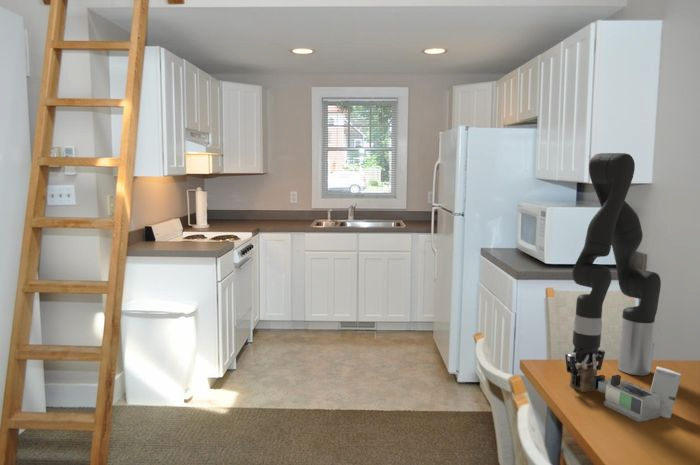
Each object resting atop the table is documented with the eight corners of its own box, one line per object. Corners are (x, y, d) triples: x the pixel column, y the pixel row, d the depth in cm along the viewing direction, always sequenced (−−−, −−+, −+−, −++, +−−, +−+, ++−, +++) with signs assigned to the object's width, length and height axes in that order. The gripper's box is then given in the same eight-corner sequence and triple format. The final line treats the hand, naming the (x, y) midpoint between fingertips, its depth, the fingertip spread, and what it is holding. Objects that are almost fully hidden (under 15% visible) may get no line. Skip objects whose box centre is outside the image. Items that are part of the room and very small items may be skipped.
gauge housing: (623, 400, 154) (625, 380, 153) (659, 416, 144) (662, 395, 143) (603, 404, 150) (605, 384, 150) (639, 422, 141) (641, 400, 140)
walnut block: (582, 383, 165) (583, 364, 165) (595, 389, 161) (597, 370, 160) (569, 385, 163) (571, 366, 162) (583, 392, 159) (584, 372, 158)
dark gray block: (617, 383, 149) (618, 374, 149) (620, 384, 148) (620, 375, 148) (611, 385, 148) (611, 375, 148) (613, 386, 147) (614, 377, 147)
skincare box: (645, 411, 146) (655, 368, 146) (645, 407, 150) (655, 365, 149) (671, 419, 143) (681, 375, 142) (671, 415, 147) (681, 372, 146)
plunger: (601, 386, 158) (602, 368, 157) (629, 399, 149) (631, 380, 149) (587, 389, 156) (588, 370, 155) (615, 403, 147) (617, 383, 146)
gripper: (594, 324, 166) (590, 377, 168) (559, 329, 160) (555, 384, 162) (615, 331, 159) (610, 386, 161) (579, 336, 153) (574, 394, 156)
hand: (582, 385), depth 162 cm, fingers closed on walnut block, 5 cm apart
